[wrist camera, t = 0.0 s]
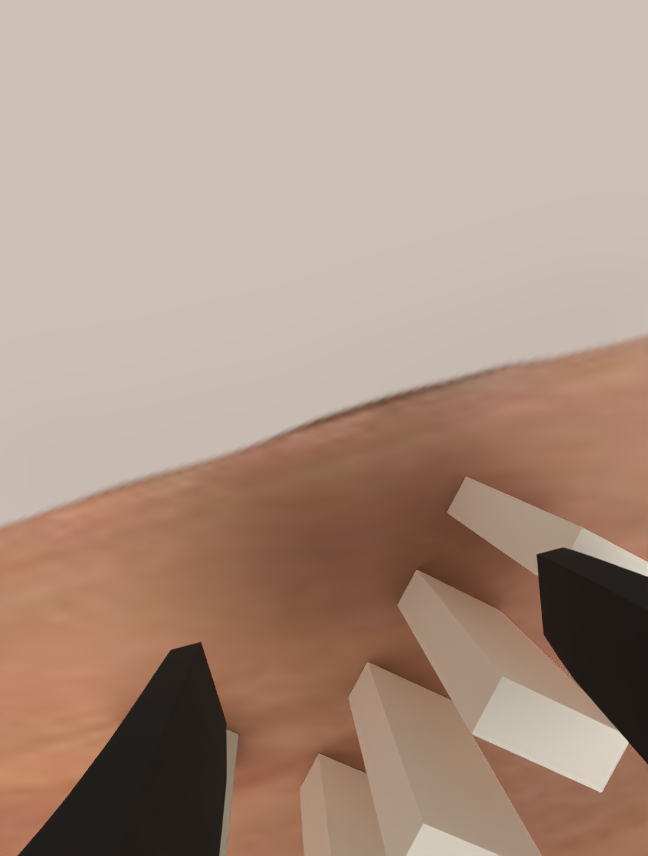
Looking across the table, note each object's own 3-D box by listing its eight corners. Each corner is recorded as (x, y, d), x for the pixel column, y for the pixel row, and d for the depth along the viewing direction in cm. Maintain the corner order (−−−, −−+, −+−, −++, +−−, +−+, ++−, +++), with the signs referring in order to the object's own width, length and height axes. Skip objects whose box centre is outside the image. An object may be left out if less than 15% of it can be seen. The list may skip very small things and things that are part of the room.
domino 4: (481, 646, 22) (601, 792, 14) (397, 605, 21) (471, 734, 13) (500, 610, 22) (631, 737, 14) (416, 569, 21) (502, 676, 13)
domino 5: (529, 555, 22) (678, 650, 14) (446, 512, 21) (551, 586, 13) (548, 520, 22) (709, 594, 14) (465, 476, 21) (582, 527, 13)
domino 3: (433, 735, 22) (525, 933, 14) (348, 697, 21) (392, 880, 13) (452, 700, 22) (555, 878, 14) (367, 661, 21) (423, 823, 13)
